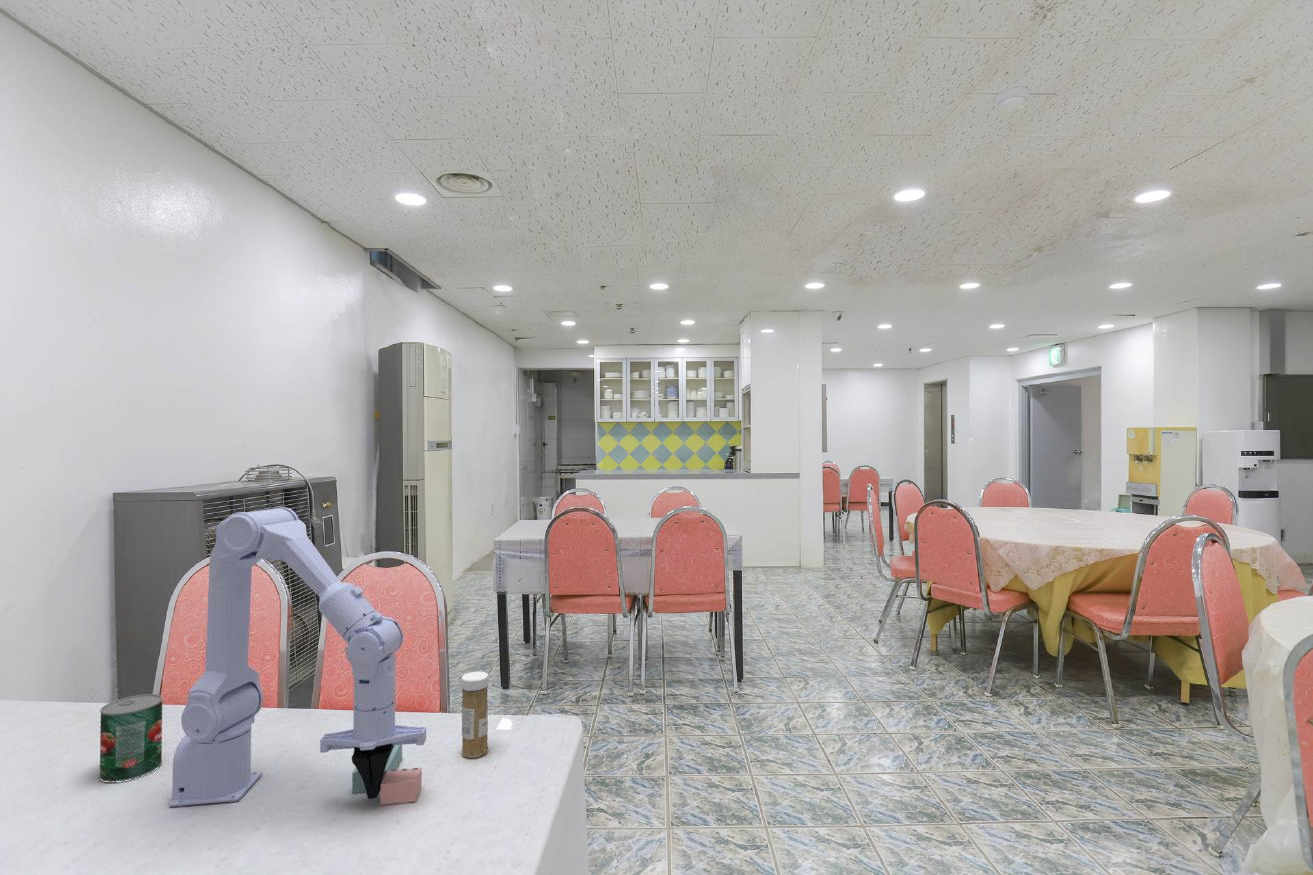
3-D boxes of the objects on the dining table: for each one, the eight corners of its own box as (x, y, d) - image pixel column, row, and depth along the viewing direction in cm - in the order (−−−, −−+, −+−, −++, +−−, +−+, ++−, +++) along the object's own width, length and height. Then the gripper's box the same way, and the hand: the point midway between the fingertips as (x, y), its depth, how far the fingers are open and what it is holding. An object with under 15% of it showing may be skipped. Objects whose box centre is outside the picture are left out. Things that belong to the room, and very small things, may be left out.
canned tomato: (172, 764, 104) (173, 698, 105) (115, 787, 97) (116, 716, 98) (145, 754, 108) (146, 690, 108) (88, 776, 101) (89, 708, 101)
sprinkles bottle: (491, 754, 108) (492, 676, 108) (465, 761, 105) (465, 681, 106) (483, 744, 112) (483, 668, 112) (457, 750, 109) (458, 673, 109)
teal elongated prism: (352, 792, 96) (352, 772, 96) (371, 760, 106) (371, 742, 106) (386, 789, 97) (386, 769, 97) (402, 758, 107) (402, 739, 107)
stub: (380, 804, 92) (380, 783, 93) (387, 789, 96) (387, 769, 97) (415, 801, 93) (416, 780, 93) (421, 787, 97) (421, 767, 97)
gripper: (312, 718, 89) (311, 814, 88) (419, 711, 91) (419, 805, 91) (330, 698, 95) (329, 788, 95) (429, 692, 98) (428, 779, 98)
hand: (374, 794), depth 93 cm, fingers closed
